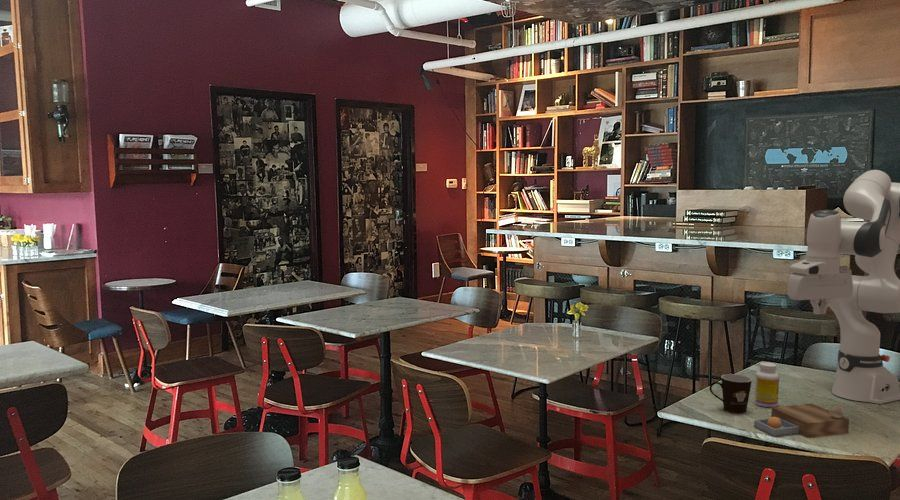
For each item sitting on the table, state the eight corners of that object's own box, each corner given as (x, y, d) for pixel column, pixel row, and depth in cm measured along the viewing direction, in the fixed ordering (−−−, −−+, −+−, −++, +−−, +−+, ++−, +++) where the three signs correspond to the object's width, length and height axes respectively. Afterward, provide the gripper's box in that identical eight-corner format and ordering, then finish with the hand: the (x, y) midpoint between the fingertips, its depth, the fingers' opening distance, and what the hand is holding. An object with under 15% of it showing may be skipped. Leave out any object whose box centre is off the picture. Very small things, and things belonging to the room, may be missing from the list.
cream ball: (836, 415, 205) (837, 402, 205) (846, 419, 202) (847, 406, 202) (826, 416, 204) (826, 404, 204) (836, 420, 201) (836, 408, 201)
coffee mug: (750, 408, 224) (752, 376, 223) (749, 416, 216) (751, 383, 215) (710, 402, 229) (712, 371, 228) (708, 411, 221) (709, 378, 220)
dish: (778, 424, 210) (778, 417, 209) (799, 434, 202) (799, 427, 202) (753, 426, 207) (754, 420, 207) (774, 436, 200) (774, 429, 199)
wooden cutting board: (810, 416, 216) (811, 403, 216) (848, 432, 203) (849, 418, 203) (770, 420, 212) (771, 407, 212) (806, 437, 199) (807, 423, 199)
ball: (770, 412, 205) (762, 422, 205) (778, 417, 202) (771, 427, 202) (777, 418, 206) (770, 429, 206) (786, 424, 203) (778, 434, 203)
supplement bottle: (779, 408, 223) (782, 367, 222) (756, 407, 225) (758, 366, 223) (774, 402, 230) (776, 362, 229) (752, 400, 231) (754, 360, 230)
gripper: (842, 264, 216) (839, 310, 218) (785, 266, 211) (782, 313, 212) (860, 266, 210) (857, 314, 212) (801, 269, 205) (798, 317, 206)
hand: (819, 313), depth 212 cm, fingers closed
